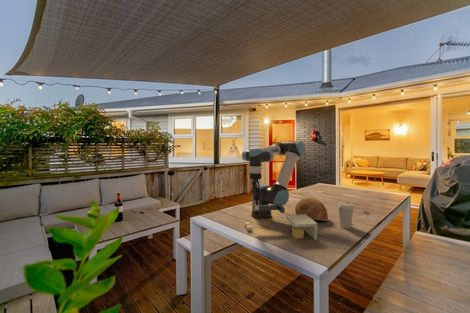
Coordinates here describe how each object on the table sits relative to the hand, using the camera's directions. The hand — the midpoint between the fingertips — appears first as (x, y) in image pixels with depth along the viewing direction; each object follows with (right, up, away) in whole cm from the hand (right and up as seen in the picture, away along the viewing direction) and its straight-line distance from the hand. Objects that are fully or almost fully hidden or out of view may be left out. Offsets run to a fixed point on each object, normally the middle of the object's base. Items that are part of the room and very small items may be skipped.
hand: (255, 208), depth 145 cm
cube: (+24, -14, -12) cm, 30 cm away
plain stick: (-5, -14, +2) cm, 14 cm away
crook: (+8, -1, -2) cm, 8 cm away
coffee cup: (+59, -12, +2) cm, 60 cm away
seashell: (+41, -12, +17) cm, 46 cm away
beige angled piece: (+26, -13, -9) cm, 31 cm away
